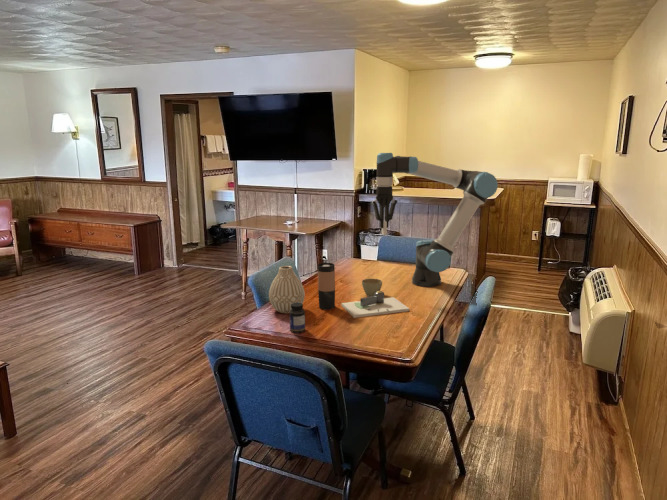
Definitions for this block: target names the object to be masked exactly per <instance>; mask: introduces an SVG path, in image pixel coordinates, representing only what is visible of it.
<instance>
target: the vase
mask: <svg viewBox="0 0 667 500" xmlns="http://www.w3.org/2000/svg"><path fill="white" fill-rule="evenodd" d="M304 288H305V287H304V286H303V283H302V281H301V280H300V279H299V277H298V276H297V275H296V273H295V272H294V269H293V267H292V266H291V265H282V266H280V267H279V269H278V273H277V274H276V276H275V277H274V279H273V280H272V282H271V284H270V287H269V291H268V300H269V302H270V305H271V307H272V308H273V309H274V310H275V311H277V312H278V313H281V314H290V313H289V312H290V310H291V309H292V308H291V304H292V303H296V302H298V303H302V304H303V305H304V301H305V296H306V295H305V289H304Z"/></svg>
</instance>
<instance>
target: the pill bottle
mask: <svg viewBox="0 0 667 500" xmlns="http://www.w3.org/2000/svg"><path fill="white" fill-rule="evenodd" d="M303 307H304V303H303V304H302V303H298V302H296V303H292V304H291V308H292V309H291V310H290V312H289V313H288V314H289V331H290V332H291V333H294V334H301V333H303V332H305V330H306V311H305V310H304V308H303Z"/></svg>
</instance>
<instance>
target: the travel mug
mask: <svg viewBox="0 0 667 500" xmlns="http://www.w3.org/2000/svg"><path fill="white" fill-rule="evenodd" d="M335 267H336V266H335V263H332V262H321V263H319V264H317V291H318V293H317V294H318V307H319V308H318V309H320V310H324V311H325V310H326V311H329V310H333V309H335V306H336V277H335V276H336V274H335V269H336V268H335Z"/></svg>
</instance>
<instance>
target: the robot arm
mask: <svg viewBox="0 0 667 500" xmlns="http://www.w3.org/2000/svg"><path fill="white" fill-rule="evenodd" d="M396 173H397V174H407V175H411V176H415V177H418V178H419V177H420V178H422V179H423V178H424V179H427V180H431V181H435V182H439V183H443V184H447V185H451V186H452V187H453V188H456V189H458V190H461V191H462V194H463V197H462V198H461V200H460V202H459V204H458V205H457V207H456V208H455V210H454V212H453V213H452V215H451V216H450V218H449V219H448V221H447V223H446V225H445V226H444V228H443V229H442V231H441V233H440V235H439V236H438V238H437V237H436V238H434V239H423V240H418V241H416V242H415V243H416V246H415V269H414V272H413V275H412V278H411V283H412V284H413V285H415V286H418V287H426V288H427V287H429V288H430V287H439V286H440V285H441V284H442V277H441V274H440V273H441V272H445V271H446V270H447V269H448V268H449V267H450V265H451V262H452V256H453V254H454V253H455V252H454V251H455V250H454V247H455V244H456V243H457V242H458V240H459V239H460V237H461V236H462V233H463V232H464V231H465V229H466V227H467V226H468V225H469V223H470V221H471V219H472V218H473V216H474V214H475V213H476V211H477V210H478V208H479V207H480V206H481V205H485V203H486V202H487V200H488V199H489V198H491V197H492V196H494V195H495V194H496V192H497V191H498V188H499V187H498V185H499V184H498V180H497V178H496V176H495V175H494V174H492V173H489V172H488V171H487V172H486V171H478V170H465V169H460V168H459V169H457V170H456V169H453V168H448V167H445V166H440V165H436V164H432V163H429V162H425V161H421V160H419V159H418V157H416V156H402V155H395V156H394V154H393V153H392V152H379V153H378V154H377V156H376V185H377V186H376V197H375V199H373V200H371V202H370V204H371V205H372V207H373V211H374V214H375V220H376V221H379V228H380V229H381V235H382V236H387V233H388V232H387V231H388V230H387V229H389V222H390V221H392V220H393V219H394V218H393V217H394V214H395V208H396V205H397V204H398V200H397V199H395V198H394V196H393V182H394V181H393V180H394V179H393V178H394V177H393V174H396ZM378 205H379V206H378ZM378 207H379V208H378Z"/></svg>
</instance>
